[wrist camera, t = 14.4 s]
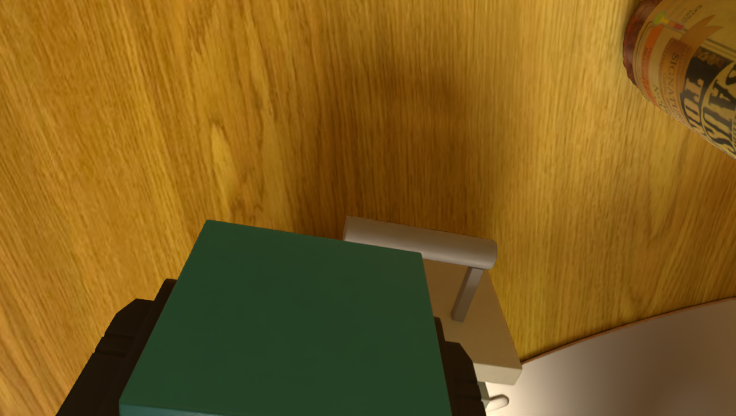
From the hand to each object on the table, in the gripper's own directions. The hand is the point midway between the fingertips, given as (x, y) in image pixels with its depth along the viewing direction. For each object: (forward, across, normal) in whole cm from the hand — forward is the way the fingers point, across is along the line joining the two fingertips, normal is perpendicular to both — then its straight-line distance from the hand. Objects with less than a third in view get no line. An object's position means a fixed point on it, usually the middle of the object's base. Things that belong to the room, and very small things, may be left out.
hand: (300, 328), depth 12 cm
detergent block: (0, 0, 0) cm, 0 cm away
